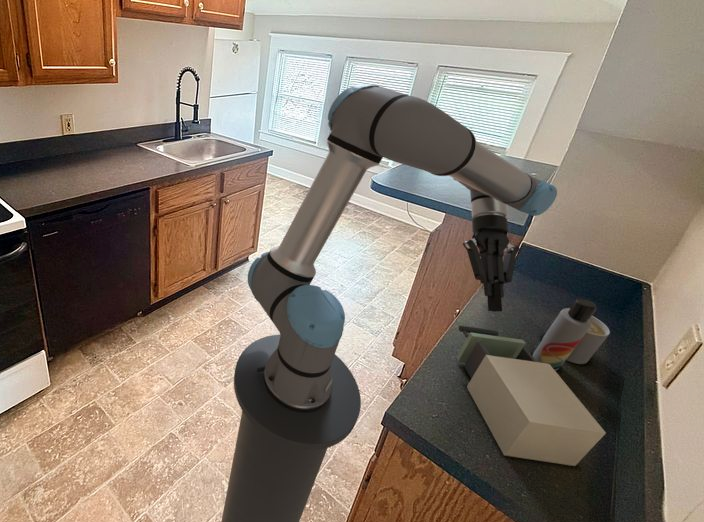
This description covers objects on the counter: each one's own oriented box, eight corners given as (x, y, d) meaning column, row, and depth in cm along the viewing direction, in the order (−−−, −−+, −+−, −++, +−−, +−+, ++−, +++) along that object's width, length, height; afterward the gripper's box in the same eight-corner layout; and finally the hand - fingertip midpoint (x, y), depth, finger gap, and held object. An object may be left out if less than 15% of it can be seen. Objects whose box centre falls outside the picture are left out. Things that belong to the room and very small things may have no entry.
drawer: (445, 339, 100) (458, 313, 96) (493, 345, 99) (508, 320, 95) (485, 411, 81) (504, 384, 77) (544, 420, 81) (566, 393, 77)
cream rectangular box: (466, 386, 88) (485, 354, 83) (526, 395, 87) (549, 363, 82) (503, 455, 74) (529, 421, 69) (575, 466, 74) (606, 433, 69)
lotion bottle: (555, 375, 94) (601, 314, 84) (529, 360, 97) (570, 300, 88) (560, 364, 97) (605, 304, 88) (534, 349, 101) (575, 291, 91)
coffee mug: (587, 370, 96) (610, 342, 91) (540, 348, 102) (559, 320, 97) (588, 343, 105) (609, 316, 100) (545, 323, 111) (563, 297, 106)
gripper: (504, 225, 101) (511, 315, 95) (455, 218, 102) (458, 307, 95) (525, 217, 94) (535, 314, 87) (472, 210, 95) (477, 305, 88)
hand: (495, 310), depth 91 cm, fingers closed
